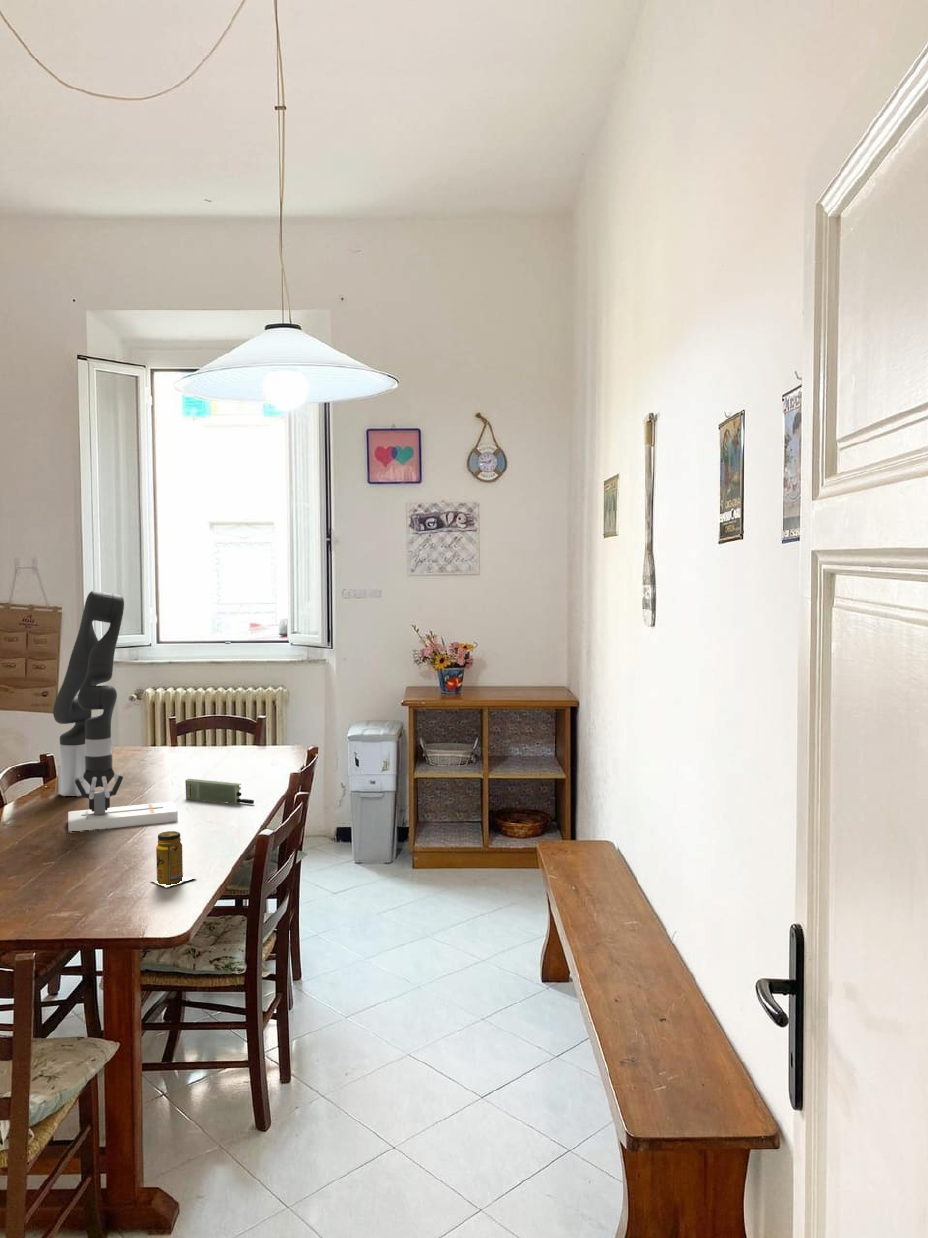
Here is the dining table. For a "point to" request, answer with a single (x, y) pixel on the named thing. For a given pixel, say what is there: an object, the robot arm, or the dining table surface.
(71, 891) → the dining table surface
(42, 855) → the dining table surface
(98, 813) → the block
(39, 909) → the dining table surface
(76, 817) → the console
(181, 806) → the dining table surface
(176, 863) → the condiment
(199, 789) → the handheld radio
